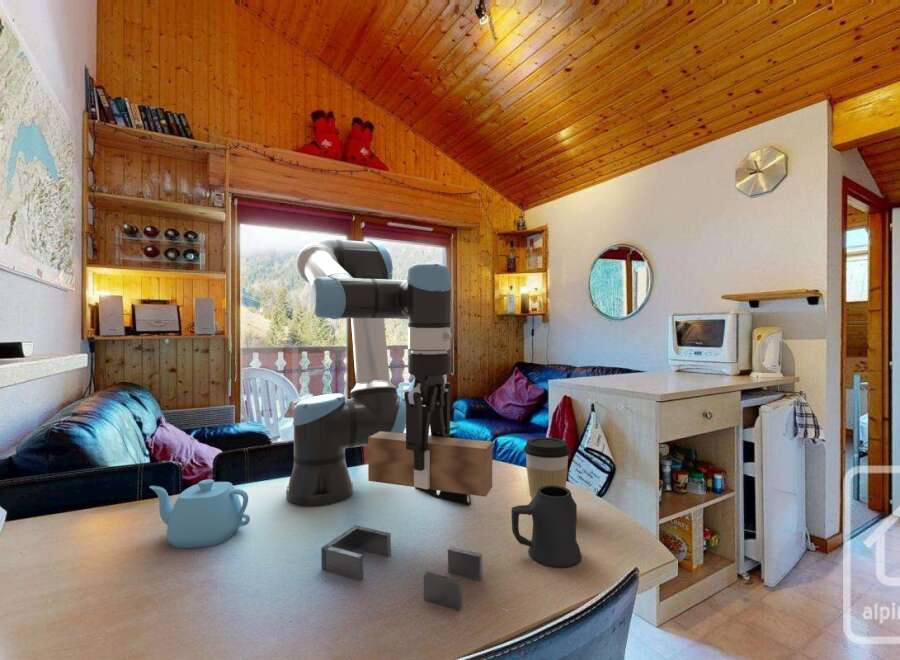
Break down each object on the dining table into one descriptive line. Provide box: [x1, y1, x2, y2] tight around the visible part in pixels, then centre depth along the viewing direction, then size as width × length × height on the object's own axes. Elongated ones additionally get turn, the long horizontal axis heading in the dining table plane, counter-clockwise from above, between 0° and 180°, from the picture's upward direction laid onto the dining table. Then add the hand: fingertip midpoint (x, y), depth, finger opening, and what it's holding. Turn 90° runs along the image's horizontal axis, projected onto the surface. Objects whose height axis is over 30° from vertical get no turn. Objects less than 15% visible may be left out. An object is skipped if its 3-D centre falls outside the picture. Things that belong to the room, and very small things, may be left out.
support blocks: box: [423, 546, 483, 612], centre depth 67 cm, size 6×9×4 cm, turn 155°
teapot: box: [149, 478, 251, 549], centre depth 85 cm, size 13×11×18 cm
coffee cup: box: [523, 436, 571, 502], centre depth 95 cm, size 10×10×15 cm
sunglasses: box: [414, 487, 472, 507], centre depth 108 cm, size 17×14×5 cm
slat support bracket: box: [320, 524, 392, 582], centre depth 74 cm, size 8×9×4 cm
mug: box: [510, 485, 582, 569], centre depth 77 cm, size 12×9×11 cm
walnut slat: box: [367, 431, 493, 497], centre depth 79 cm, size 22×4×8 cm, turn 71°
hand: (429, 481), depth 79 cm, fingers closed on walnut slat, 5 cm apart
